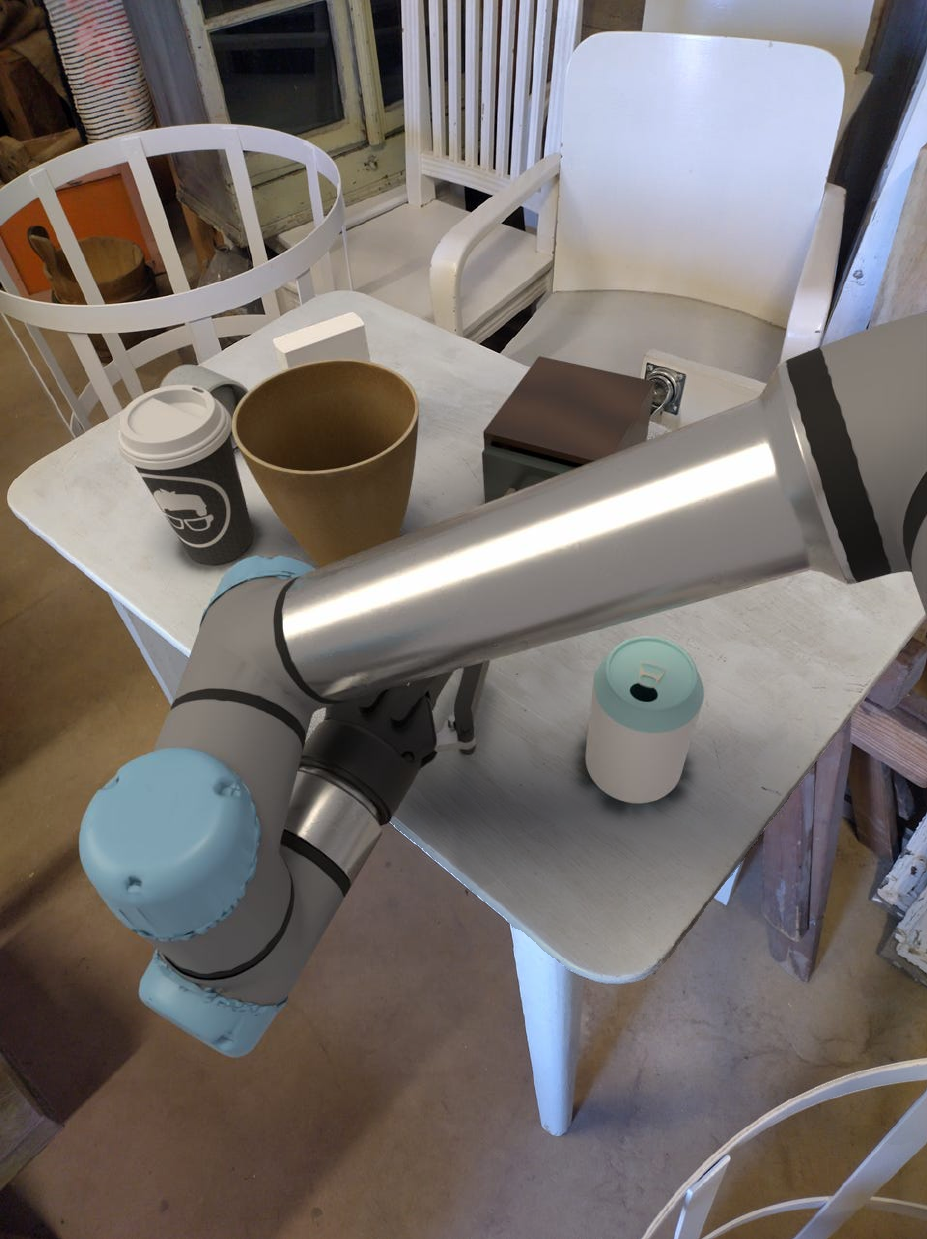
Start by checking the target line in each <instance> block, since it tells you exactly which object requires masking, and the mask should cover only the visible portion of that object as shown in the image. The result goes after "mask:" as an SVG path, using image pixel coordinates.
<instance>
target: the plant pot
mask: <svg viewBox="0 0 927 1239" xmlns="http://www.w3.org/2000/svg"><path fill="white" fill-rule="evenodd" d="M248 391H249V392H248V393H247V394H246V395H245V396H244V397H243V398H242V399H241V401H240V402H239V404H238V406H237V407H236V409H235V412H234V415H233V419H232V433H233V436H234V439H235V441H236V444H237V448H238V450H239V452H240V454H241V456H242V459H243V460H244V462H245V464H246V465H247V467H248V470H249V471H250V473H251V476H252V477H253V479H254V480H255V482H256V484H257V486H258V488H259V489H260V491H261V492H262V494H263V496H264V497H265V499H266V501H267V503H269V505H270V506H271V508H272V510H273V511H274V513H275V514H276V516H277V517H278V518H279V520H280V521H281V523H282V524H283V526H284V527H285V528H286V529H287V531H288V533H290V535H291V537H292V538H293V539H294V540H295V541H296V542H297V544H299V547H301V549H302V550H304V552H305V553H306V554H307V555H308V556H309V557H310V558H311V559H312V560H313V562H314V563H316V565H317V566H319V568H321V567H323V566H326V565H329V564H331V563H334V562H336V561H339V560H341V559H344V558H347V557H349V556H352V555H354V554H357V553H359V552H362V551H365V550H367V549H370V548H372V547H375V546H377V545H380V544H383V543H385V542H388V541H390V540H393V539H395V538H398V537H400V534H401V530H402V528H403V525H404V524H403V523H404V521H405V517H406V513H407V510H408V509H407V508H408V505H409V501H410V496H411V490H412V486H413V485H412V484H413V480H414V479H413V478H414V473H415V466H416V456H417V444H418V432H419V416H420V415H419V413H420V403H419V402H420V401H419V398H418V394H417V392H416V390H415V388H414V387H413V386H412V384H411V383H410V381H409V380H407V379H406V378H405V377H404V376H403V375H401V374H400V373H398V372H397V371H395V370H393V369H391V368H390V367H387V366H385V365H382V364H379V363H375V362H371V361H370V362H366V361H361V360H353V359H333V360H322V361H316V362H310V363H306V364H301V365H297V366H294V367H291V368H288V369H285V370H283V371H281V370H280V371H278V372H276V373H274V374H273V375H270V376H269V377H267V378H265V379H263V380H261V381H259V383H257V384H255V386H253V387H252V388H251V389H250V390H248Z"/></svg>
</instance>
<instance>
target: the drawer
mask: <svg viewBox="0 0 927 1239" xmlns="http://www.w3.org/2000/svg"><path fill="white" fill-rule="evenodd" d="M481 462H482V463H481V464H482V480H483V497H484V504H486V503H488V502H491V501H493V500H496V499H498V498H501V497H504V496H506V495H509V494H511V493H514V492H516V491H519V490H522V489H524V488H527V487H529V486H532V485H535V484H537V483H540V482H542V481H545V480H547V479H550V478H553V477H555V476H558V475H560V474H563V473H565V472H568V471H571V470H573V469H576V468H578V467H581V466H583V464H579V463H575V462H572V461H568V460H564V459H560V458H556V457H552V456H549V455H545V454H541V453H537V452H533V451H529V450H526V449H522V448H518V447H514V446H510V445H506V444H502V443H501V448H497V447H494V446H490V445H487V446H486V448H485V449H484V448H483V450H482V452H481Z"/></svg>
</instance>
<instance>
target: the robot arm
mask: <svg viewBox="0 0 927 1239" xmlns="http://www.w3.org/2000/svg"><path fill="white" fill-rule="evenodd" d="M810 571H812V572H817V573H821V574H824V575H826V576H828V577H830V578H833V579H835V580H837V581H839V582H841V583H843V584H845V585H847V586H851V585H856V584H859V583H861V582H865V581H869V580H873V579H876V578H880V577H885V576H887V575H892V574H898V573H904V572H907V573H911V575H912V579H913V582H914V585H915V588H916V590H917V593H918V596H919V599H920V602H921V605H922V608H923V611H924V613H925V616H926V617H927V310H925V311H922V312H917V313H915V314H912V315H908V316H905V317H901V318H897V319H895V320H892V321H891V320H890V321H888V322H884V323H880V324H878V325H874V326H872V327H869V328H867V329H863V330H861V331H858V332H856V333H852V334H850V335H848V336H845V337H842V338H840V339H837V340H834V341H832V342H829V343H827V344H824V345H820V346H818V347H816V348H813V349H811V350H808V351H805V352H803V353H801V354H800V353H799V354H798V355H795V356H792V357H791V358H788V359H786V360H784V361H782V362H779V363H777V365H776V366H775V369H774V370H773V372H772V374H771V376H770V377H769V379H768V381H767V383H766V385H765V386H764V388H763V390H762V392H761V393H760V394H759V395H758V396H757V397H756V398H753V399H751V400H748V401H746V402H742V403H741V404H738V405H735V406H733V407H730V408H727V409H725V410H723V411H720V412H717V413H714V414H712V415H710V416H707V417H705V418H702V419H699V420H697V421H694V422H691V423H689V424H686V425H683V426H681V427H679V428H676V429H673V430H670V431H668V432H666V433H663V434H660V435H657V436H656V437H653V438H651V439H647V441H645V442H643V443H640V444H637V445H635V446H632V447H630V448H627V449H625V450H622V451H619V452H617V453H614V454H612V455H609V456H607V457H604V458H601V459H599V460H596V461H594V462H591V463H589V464H586V465H583V466H581V467H578V468H576V469H573V470H571V471H568V472H565V473H563V474H560V475H558V476H555V477H553V478H550V479H547V480H545V481H542V482H540V483H537V484H535V485H532V486H529V487H527V488H524V489H522V490H519V491H516V492H514V493H511V494H509V495H506V496H504V497H501V498H498V499H496V500H493V501H491V502H488V503H486V504H485V503H483V504H480V505H478V506H476V507H472V508H469V509H468V510H465V511H463V512H460V513H457V514H455V515H453V516H450V517H447V518H444V519H441V520H439V521H437V522H434V523H432V524H429V525H427V526H425V527H424V526H423V527H421V528H419V529H416V530H413V531H411V532H409V533H406V534H403V535H401V536H399V537H398V538H395V539H393V540H390V541H388V542H385V543H383V544H380V545H377V546H375V547H372V548H370V549H367V550H365V551H362V552H359V553H357V554H354V555H352V556H349V557H347V558H344V559H341V560H339V561H336V562H334V563H331V564H329V565H326V566H323V567H318V568H316V567H313V566H312V565H310V564H309V563H306V562H304V561H302V560H300V559H297V558H294V557H291V556H286V555H281V554H280V555H277V556H275V557H264V556H263V555H261V554H257V555H253V556H248V557H246V558H244V559H241V560H239V561H237V562H235V563H234V564H233V565H232V566H230V568H228V569H227V570H226V571H225V573H224V575H223V576H222V578H221V580H220V582H219V583H218V585H217V588H216V590H215V592H214V594H213V596H212V598H210V602H209V603H208V604H207V606H206V607H205V609H204V610H203V612H202V614H201V615H202V616H201V619H200V623H199V628H198V632H197V635H196V638H195V641H194V643H193V646H192V649H191V652H190V654H189V657H188V659H187V662H186V665H185V668H184V671H183V673H182V676H181V678H180V681H179V684H178V686H177V690H176V692H175V695H174V697H173V701H172V704H171V706H170V709H169V711H168V713H167V715H166V717H165V720H164V723H163V725H162V728H161V731H160V733H159V735H158V737H157V740H156V744H155V746H154V749H153V751H150V752H148V753H146V754H145V753H144V754H142V755H139V756H138V757H136V758H134V759H132V760H129V761H128V762H127V763H125V764H124V765H122V766H121V767H119V768H118V770H117V771H116V774H115V776H113V777H112V778H111V779H110V780H109V781H108V782H107V783H106V784H105V785H104V786H103V787H102V788H101V789H97V791H96V792H95V794H94V795H93V797H92V798H91V800H90V802H89V803H88V805H87V808H86V810H85V812H84V814H83V817H82V821H81V823H80V830H79V835H78V851H79V858H80V861H81V866H82V868H83V870H84V873H85V875H86V877H87V878H88V880H89V882H90V883H91V884H92V885H93V887H94V888H95V890H96V893H97V894H98V896H99V897H100V898H101V899H102V900H103V901H104V903H105V904H106V905H107V907H108V908H109V910H110V911H111V912H112V914H113V915H114V916H115V918H116V919H117V920H119V921H120V923H122V925H123V926H124V927H126V928H127V929H128V930H131V931H133V932H135V933H136V934H137V935H138V936H140V937H141V938H143V939H144V940H145V941H147V942H148V943H149V944H150V945H152V946H153V947H154V948H155V951H154V952H153V955H152V958H151V960H150V962H149V964H148V965H147V967H146V970H144V971H145V972H144V973H143V975H142V976H141V978H140V981H139V988H138V997H139V1000H140V1001H141V1002H142V1003H143V1004H144V1006H146V1007H148V1008H149V1009H150V1010H152V1011H153V1012H154V1013H156V1014H157V1015H159V1016H160V1017H162V1018H163V1019H165V1020H167V1021H168V1022H170V1023H171V1024H173V1025H175V1026H176V1027H178V1028H179V1029H180V1030H182V1031H184V1032H185V1033H186V1034H188V1035H190V1036H192V1037H193V1038H195V1039H196V1040H198V1041H200V1042H201V1043H203V1044H205V1045H206V1046H208V1047H210V1048H211V1049H213V1050H215V1052H218V1053H220V1054H222V1055H223V1056H225V1057H229V1058H242V1057H244V1056H246V1055H248V1054H249V1053H250V1052H251V1051H253V1050H254V1048H255V1047H256V1046H257V1044H258V1043H259V1041H260V1040H261V1038H262V1037H263V1036H264V1034H265V1032H266V1031H267V1030H268V1028H269V1026H270V1025H271V1023H272V1022H273V1021H274V1019H275V1018H276V1017H277V1015H278V1013H279V1012H281V1011H282V1010H283V1009H284V1008H285V1007H286V1005H287V1003H288V1001H289V995H290V993H291V991H292V990H293V988H294V986H295V984H296V983H297V982H298V979H299V978H300V976H301V974H302V972H303V970H304V969H305V967H306V966H307V963H308V962H309V961H310V958H311V956H313V953H314V951H315V950H316V948H317V947H318V944H319V943H320V941H321V939H322V937H323V936H324V934H325V933H326V931H327V929H328V927H329V926H330V924H331V922H332V920H333V918H335V915H336V914H337V912H338V910H339V909H340V907H341V905H342V903H343V901H344V900H345V898H346V896H347V894H348V892H349V891H350V890H351V888H352V886H353V884H354V883H355V881H356V880H357V877H358V876H359V875H360V873H361V871H362V869H363V867H364V866H365V864H366V862H367V860H368V859H369V857H370V855H371V854H372V852H373V850H374V849H375V847H376V845H377V843H378V842H379V840H380V838H381V836H382V835H383V833H382V832H383V831H382V828H381V827H382V826H385V825H387V824H389V823H390V822H391V821H392V819H393V817H394V816H395V814H396V812H397V811H398V809H399V807H400V806H401V804H402V802H403V800H404V799H405V797H406V796H407V794H408V792H409V790H410V789H411V787H412V786H413V783H414V781H415V780H416V778H417V775H418V773H419V772H420V771H421V770H422V769H423V768H424V767H426V766H427V765H428V764H431V763H432V762H433V761H434V760H435V759H436V757H437V756H438V753H442V752H448V751H455V750H458V751H459V753H460V754H461V755H463V756H471V755H473V754H474V753H475V752H476V750H477V742H476V733H475V720H476V716H477V712H478V708H479V705H480V700H481V697H482V694H483V690H484V685H485V681H486V678H487V674H488V670H489V667H490V663H491V661H493V660H496V659H500V658H504V657H507V656H510V655H513V654H514V655H515V654H518V653H521V652H524V651H527V650H531V649H535V648H539V647H543V646H546V645H549V644H553V643H556V642H560V641H563V640H567V639H570V638H574V637H577V636H581V635H585V634H588V633H592V632H595V631H599V630H603V629H607V628H609V627H613V626H616V625H620V624H621V625H622V624H623V623H627V622H631V621H635V620H638V619H642V618H646V617H649V616H652V615H656V614H659V613H663V612H666V611H670V610H673V609H677V608H681V607H684V606H687V605H691V604H695V603H699V602H703V601H706V600H709V599H712V598H716V597H720V596H723V595H727V594H730V593H735V592H737V591H741V590H744V589H749V588H752V587H755V586H759V585H762V584H766V583H770V582H773V581H777V580H781V579H784V578H787V577H792V576H796V575H799V574H802V573H806V572H810ZM460 669H463V671H462V674H461V678H460V681H459V685H458V688H457V693H456V696H455V699H454V704H453V705H454V707H453V714H451V715H449V716H447V718H446V719H445V720H444V722H443V727H442V728H441V729H440V730H439V731H436V725H435V720H434V713H433V711H434V709H435V708H436V706H437V700H438V698H439V696H440V694H441V693H442V691H443V690H444V688H445V686H446V685H447V683H448V682H449V680H450V678H451V677H452V675H453V673H454V672H455V671H457V670H460ZM324 708H325V712H324V713H325V715H324V717H323V720H322V721H321V722H319V723H318V724H317V725H316V727H315V728H314V729H313V731H312V732H311V733H310V735H309V736H308V737H307V735H308V732H309V728H310V725H311V723H312V722H311V721H312V718H313V715H314V714H315V713H316V712H317V711H318V710H322V709H324Z"/></svg>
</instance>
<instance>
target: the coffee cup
mask: <svg viewBox="0 0 927 1239" xmlns="http://www.w3.org/2000/svg"><path fill="white" fill-rule="evenodd" d="M118 425H119V426H118V427H119V428H118V430H117V446H118V450H119V453H120V455H121V457H122V458H123V460H124V461H126V462H127V463H129V464H131V465H132V466H134V468H135V469H136V471H137V473H138V474H139V476H140V477H141V479H142V480H143V482H144V484H145V486H146V487H147V489H148V490H149V492H150V494H151V495H152V497H153V498H154V500H155V502H156V503H157V505H158V507H159V508H160V510H161V512H162V513H163V515H164V517H165V519H166V520H167V522H168V523H169V525H170V527H171V528H172V530H173V531H174V534H175V535H176V536H177V538H178V540H179V541H180V543H181V545H182V546H183V548H184V550H185V551H186V553H187V554H188V556H189V557H190V558H191V559H192V560H193V561H194V562H196V563H198V564H201V565H208V566H218V565H223V564H228V563H230V562H232V561H234V560H235V559H238V558H240V557H241V556H242V555H243V554H245V553H246V552H247V551H248V549H249V548H250V547H251V546H252V543H253V540H254V530H253V526H252V525H253V524H252V522H251V517H250V513H249V509H248V505H247V501H246V497H245V492H244V489H243V488H244V487H243V485H242V480H241V476H240V472H239V468H238V463H237V459H236V456H235V452H234V449H233V447H232V443H231V438H230V432H231V428H232V419H231V416H230V414H229V413H228V411H227V410H226V409H225V407H224V406H223V405H222V404H221V403H220V402H219V401H218V400H217V399H215V398H213V396H212V395H211V394H210V393H209V392H208V391H206V390H204V389H202V388H200V387H197V386H192V385H171V386H165V387H161V388H159V387H158V388H155V389H152V390H150V391H147V392H145V393H143V394H141V395H139V396H138V397H136V398H135V399H133V400H132V401H131V402H130V403H128V404H127V405H126V407H125V408H124V409H123V410H122V412H121V414H120V416H119V421H118Z"/></svg>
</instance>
